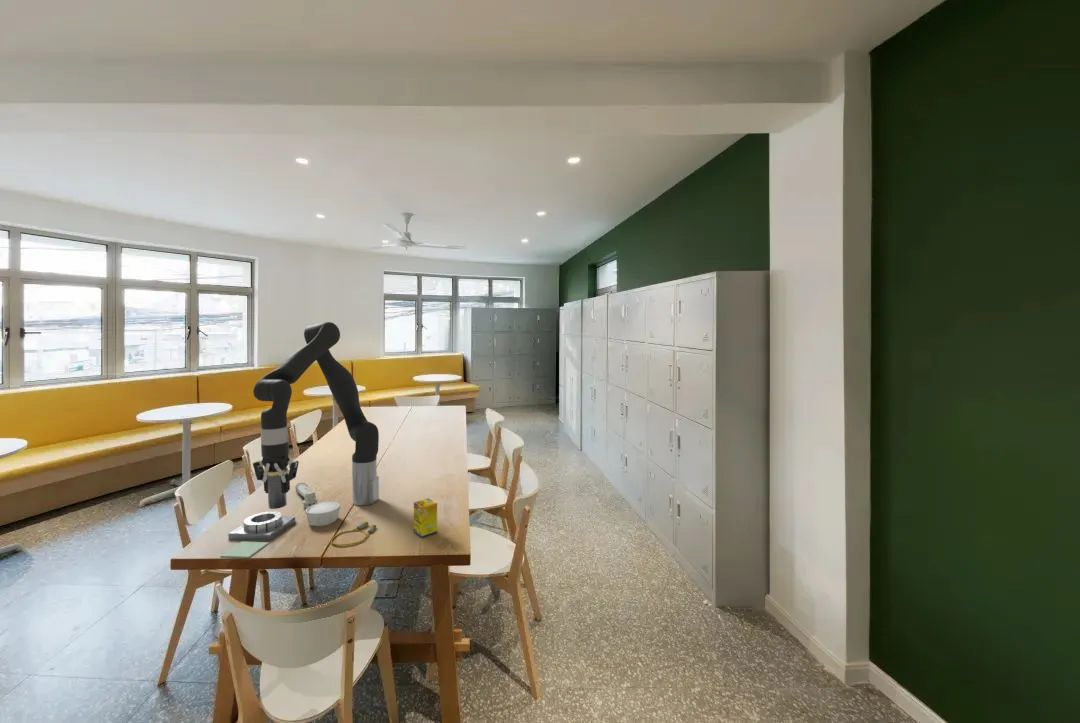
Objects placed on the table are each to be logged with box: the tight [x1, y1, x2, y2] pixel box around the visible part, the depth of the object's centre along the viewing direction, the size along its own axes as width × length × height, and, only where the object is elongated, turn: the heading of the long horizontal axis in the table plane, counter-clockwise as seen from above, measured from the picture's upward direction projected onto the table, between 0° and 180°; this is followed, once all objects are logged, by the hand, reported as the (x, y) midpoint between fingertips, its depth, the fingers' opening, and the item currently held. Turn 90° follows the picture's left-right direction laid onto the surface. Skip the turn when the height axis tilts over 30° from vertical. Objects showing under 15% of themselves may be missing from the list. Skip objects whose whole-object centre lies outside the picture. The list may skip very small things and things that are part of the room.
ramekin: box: [305, 501, 341, 527], centre depth 156 cm, size 11×11×5 cm
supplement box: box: [413, 497, 438, 539], centre depth 148 cm, size 6×6×11 cm
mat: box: [220, 541, 269, 559], centre depth 135 cm, size 9×9×1 cm
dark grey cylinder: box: [267, 469, 288, 510], centre depth 138 cm, size 5×5×12 cm
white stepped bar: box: [295, 482, 319, 510], centre depth 176 cm, size 5×7×25 cm
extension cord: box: [330, 521, 377, 548], centre depth 145 cm, size 12×16×2 cm
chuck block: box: [227, 510, 296, 541], centre depth 148 cm, size 14×14×4 cm
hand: (277, 492), depth 138 cm, fingers closed on dark grey cylinder, 5 cm apart
